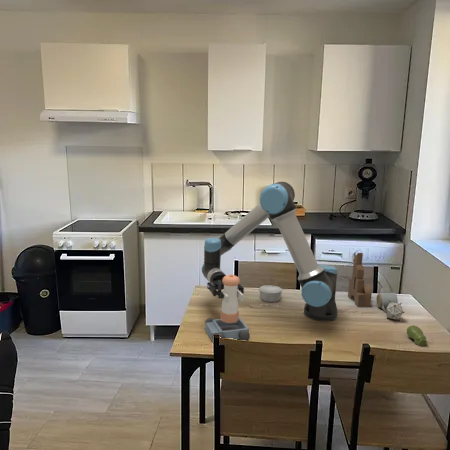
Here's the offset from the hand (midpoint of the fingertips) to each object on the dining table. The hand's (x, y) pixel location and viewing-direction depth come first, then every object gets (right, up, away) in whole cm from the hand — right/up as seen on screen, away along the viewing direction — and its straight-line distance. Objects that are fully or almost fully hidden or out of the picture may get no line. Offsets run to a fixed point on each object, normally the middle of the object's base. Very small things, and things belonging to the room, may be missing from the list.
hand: (234, 298), depth 168 cm
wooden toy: (+62, -9, +47) cm, 78 cm away
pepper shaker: (-2, -10, +8) cm, 13 cm away
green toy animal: (+73, -18, +6) cm, 76 cm away
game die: (+72, -14, +26) cm, 78 cm away
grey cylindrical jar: (+73, -11, +37) cm, 83 cm away
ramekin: (+18, -8, +47) cm, 51 cm away
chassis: (-3, -16, +8) cm, 18 cm away
